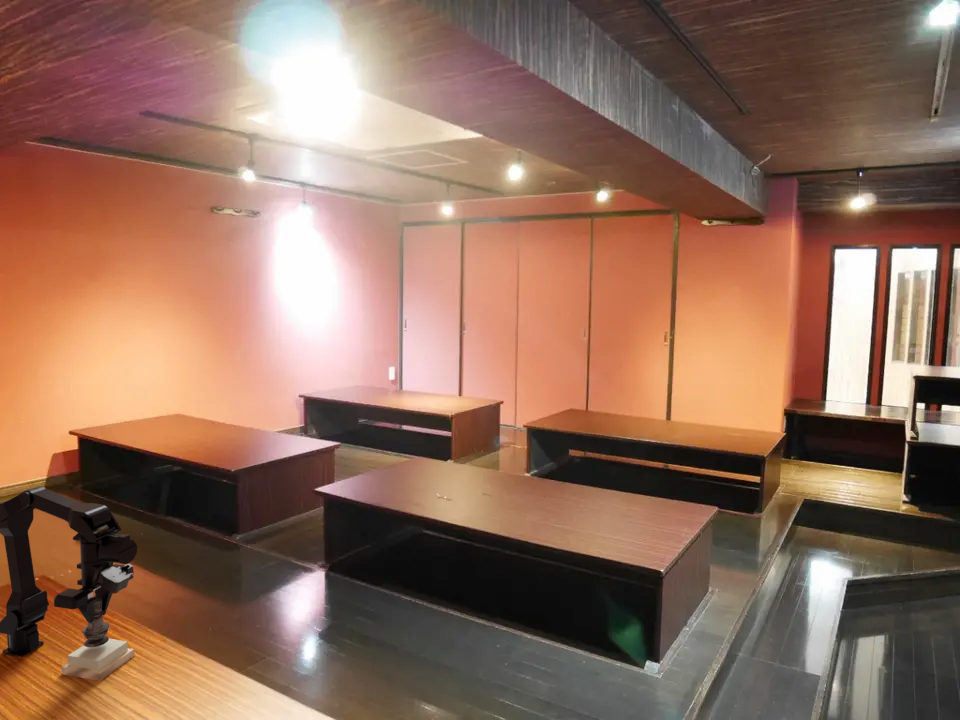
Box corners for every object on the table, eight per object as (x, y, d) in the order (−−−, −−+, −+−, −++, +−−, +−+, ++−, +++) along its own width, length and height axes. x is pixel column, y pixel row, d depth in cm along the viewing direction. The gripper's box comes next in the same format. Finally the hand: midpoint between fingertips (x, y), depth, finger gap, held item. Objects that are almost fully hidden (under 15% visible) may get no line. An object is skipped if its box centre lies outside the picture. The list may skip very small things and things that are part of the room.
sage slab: (68, 665, 155) (67, 655, 155) (98, 645, 164) (98, 636, 164) (99, 671, 153) (98, 661, 153) (127, 651, 162) (127, 641, 161)
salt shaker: (97, 649, 155) (95, 602, 153) (76, 646, 156) (75, 599, 155) (115, 637, 160) (114, 591, 159) (95, 634, 162) (94, 588, 160)
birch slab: (61, 676, 154) (61, 666, 154) (98, 652, 165) (97, 643, 165) (100, 683, 152) (99, 673, 152) (134, 658, 163) (134, 649, 163)
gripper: (91, 578, 145) (93, 643, 147) (150, 547, 163) (151, 605, 165) (50, 572, 147) (53, 636, 149) (113, 542, 166) (115, 599, 167)
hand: (96, 618), depth 157 cm, fingers closed on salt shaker, 4 cm apart
